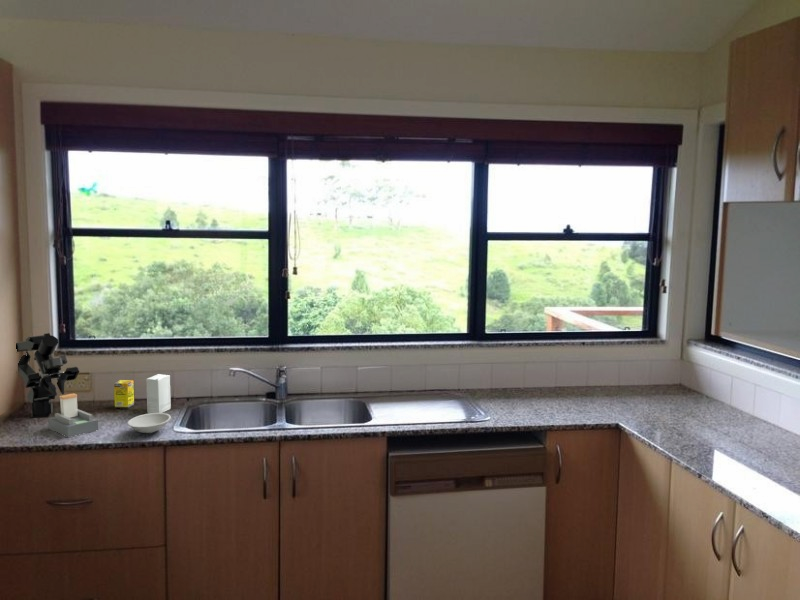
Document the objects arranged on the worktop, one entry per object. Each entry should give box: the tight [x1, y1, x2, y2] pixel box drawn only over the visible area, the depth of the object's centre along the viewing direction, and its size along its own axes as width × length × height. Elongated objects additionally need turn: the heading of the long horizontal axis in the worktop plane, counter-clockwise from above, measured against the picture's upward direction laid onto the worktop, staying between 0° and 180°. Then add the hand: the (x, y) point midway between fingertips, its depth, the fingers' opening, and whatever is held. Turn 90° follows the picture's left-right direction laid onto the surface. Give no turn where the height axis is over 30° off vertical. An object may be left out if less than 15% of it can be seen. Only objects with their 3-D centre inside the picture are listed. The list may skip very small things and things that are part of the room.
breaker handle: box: [59, 392, 78, 418], centre depth 241 cm, size 3×5×8 cm, turn 141°
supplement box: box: [113, 379, 135, 410], centre depth 270 cm, size 6×6×11 cm
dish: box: [127, 412, 172, 434], centre depth 237 cm, size 18×14×5 cm
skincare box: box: [145, 373, 172, 414], centre depth 264 cm, size 8×6×15 cm
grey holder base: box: [48, 408, 99, 438], centre depth 240 cm, size 16×11×6 cm
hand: (59, 394), depth 246 cm, fingers open, 2 cm apart
